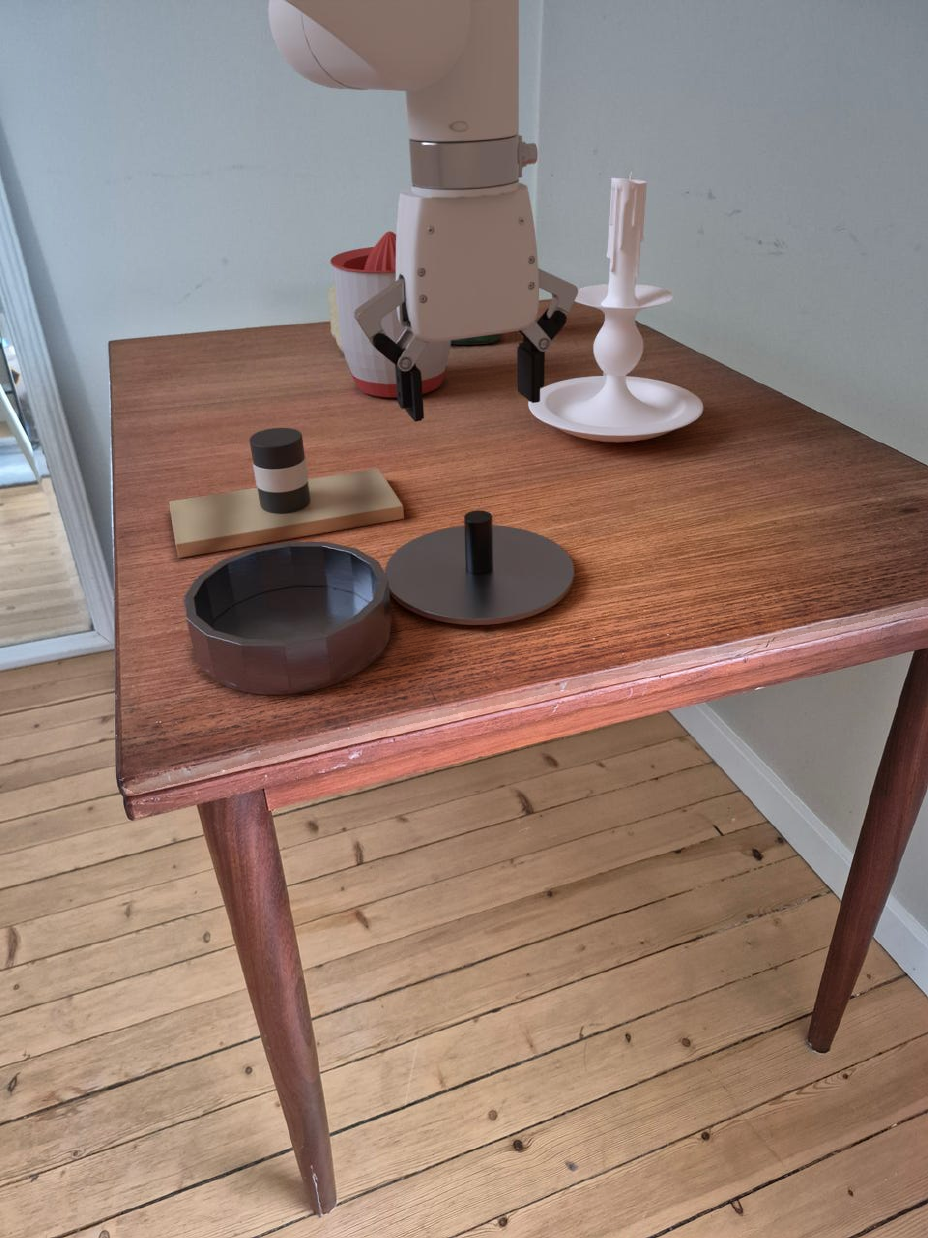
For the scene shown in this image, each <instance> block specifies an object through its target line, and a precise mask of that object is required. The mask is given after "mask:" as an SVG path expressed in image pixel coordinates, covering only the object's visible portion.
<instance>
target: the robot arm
mask: <svg viewBox="0 0 928 1238" xmlns="http://www.w3.org/2000/svg"><path fill="white" fill-rule="evenodd" d="M268 23H269V29H270V33H271V35H272V39H273V41H274V43H275V46H276V48H277V50H278V52H279V54H280V55H281V57H282V58H283V59H284V60H285V62H286V63H287V64H288V65H289V66H290V67H291V68H292V69H293V71H295V72H296V73H297V74H299V75H300V76H301V77H303V78H304V79H306V80H308V81H310V82H311V83H314V84H316V85H319V86H322V87H326V88H330V89H335V90H336V89H337V90H353V91H355V90H356V91H368V90H375V91H376V90H378V91H395V92H396V91H398V92H405V103H406V104H405V105H406V116H407V119H406V120H407V132H408V133H407V134H408V152H409V153H408V154H409V168H410V169H409V171H410V182H411V185H410V186H411V188H410V189H409V188H408V189H404V190H401V191H400V192H399V198H398V205H397V216H396V233H395V234H396V281H395V282H394V283H392V284H391V285H390V286H388V287H387V288H385V289H384V290H382V291H381V292H380V293H378V294H377V295H375V296H374V297H373V298H371V299H370V300H368V301H367V302H365V303H364V304H363V305H361V306H360V307H358V308H357V309H356V310H355V312H354V316H355V319H356V320H357V322H358V323H359V325H360V327H361V328H362V330H363V331H364V333H365V334H366V336H367V337H368V339H369V340H370V343H371V344H372V345H373V346H374V347H375V348H376V349H377V350H378V351H379V352H380V353H381V354H383V355H384V356H385V357H386V358H387V359H389V360H390V361H391V362H392V363H394V364H395V372H396V385H397V397H396V398H397V402H398V406H399V408H400V409H402V410H404V411H405V412H406V414H408V416H409V417H410V418H411V419H412V420H413V422H415V423H416V422H422V420H424V419H425V410H424V409H425V408H424V394H423V393H422V377H421V371H420V370H419V369H418V368H417V367H416V361H417V360H418V358H419V357H420V355H421V354H422V352H423V351H424V349H425V348H426V346H427V345H428V343H429V342H439V341H448V340H456V339H464V338H471V337H479V336H486V335H493V334H500V333H501V334H507V333H512V332H517V333H518V334H519V335H520V336H521V338H522V342H519V343H518V346H517V348H516V356H517V357H516V358H517V361H516V363H517V365H516V366H517V367H516V369H517V370H516V371H517V372H516V373H517V374H516V375H517V377H516V381H517V385H516V386H517V389H516V390H517V392H518V393H519V394H520V395H521V396H522V397H524V398H525V399H526V400H528V402H529V401H530V402H532V403H537V402H540V389H541V388H543V387H545V371H546V370H545V369H546V368H545V367H546V366H545V365H546V364H545V363H546V362H545V361H546V352H547V351H549V350H550V348H552V347H551V346H552V342H553V340H554V338H556V336H557V335H558V333H559V332H560V331H561V330H562V329H563V328H564V326H565V325H566V324H567V320H568V319H567V316H568V315H569V313H570V311H571V309H572V308H573V306H574V304H575V302H576V301H575V299H576V297H577V294H578V289H579V288H578V286H576V285H574V284H572V283H571V282H568V281H566V280H565V279H562V278H561V277H559V276H556V275H554V274H552V273H549V272H548V271H545V270H543V269H541V268H540V267H539V258H538V247H537V246H538V245H537V237H536V229H535V222H534V221H535V220H534V215H533V214H534V213H533V208H532V204H531V198H530V193H529V189H528V186H527V185H526V184H524V183H522V182H520V178H522V177H523V168H526V167H527V165H535V164H536V163H537V162H538V156H539V155H538V147H537V144H536V143H535V142H531V143H526V141H523V136H522V135H520V0H269V1H268ZM540 289H542V290H543V291H545V292H548V293H549V294H551V296H552V297H551V301H550V303H549V304H550V305H549V307H548V308H547V309H546V310H545V311H544V312H543V314H541V316H540V317H539V318H538V315H539V307H540ZM395 308H397V314H398V319H399V322H400V323H401V324H402V325H403V326H404V329H403V330H402V332H401V333H400V335H399V336H398V338H397V339H396V341H395V342H394V341H393V340H392V339H390V338H389V337H388V336H387V335H386V334H385V332H384V330H383V328H382V327H381V324H380V322H381V319H382V318H383V317H384V316H385V315H387V314H388V313H390V312H391V311H392V310H394V309H395ZM537 319H538V320H537Z"/></svg>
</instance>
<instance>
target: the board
mask: <svg viewBox="0 0 928 1238" xmlns="http://www.w3.org/2000/svg"><path fill="white" fill-rule="evenodd" d="M308 484H309V492H310V503H309V505H308V506H306V507H305V508H303V509H301V510H299V511H295V512H291V513H283V514H277V513H270V512H267V511H265V510H263V509H262V508H261V506H260V500H259V494H258V488H257V487H251V488H245V489H238V490H233V491H228V492H220V493H219V492H218V493H213V494H208V495H201V496H194V497H189V498H182V499H177V500H175V499H174V500H169V503H168V504H169V511H170V516H171V524H172V530H173V537H174V543H175V548H176V553H177V557H178V559H181V558H187V557H192V556H199V555H205V554H210V553H215V552H221V551H227V550H234V549H239V548H244V547H245V548H246V547H250V546H256V545H261V544H267V543H273V542H278V541H284V540H290V539H295V538H301V537H309V536H314V535H319V534H325V533H330V532H335V531H342V530H347V529H354V528H358V527H365V526H369V525H376V524H381V523H389V522H394V521H399V520H404V519H405V512H404V505H403V503H402V501H401V500H400V498H399V497H398V496H397V494H396V493H395V491H394V489H393V488H392V486H391V485H390V483H389V482H388V480H387V479H386V477H385V475H384V474H383V472H381V470H380V468H378V467H377V468H371V469H365V470H359V471H351V472H345V473H339V474H332V475H327V476H326V475H325V476H320V477H314V478H308Z"/></svg>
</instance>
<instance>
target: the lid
mask: <svg viewBox="0 0 928 1238" xmlns="http://www.w3.org/2000/svg"><path fill="white" fill-rule="evenodd" d="M384 573H385V574H386V576H387V578H388V583H389V594H390V596H391V597H392V598H393V599H394V600H395V601H396V602H397V603H398V604H399V605H401V606H402V607H403V608H405V609H407V610H408V611H410V612H412V613H414V614H416V615H419V616H421V617H423V618H427V619H430V620H434V621H437V622H442V623H447V624H455V625H464V626H465V625H467V626H487V625H489V626H490V625H499V624H505V623H512V622H516V621H520V620H524V619H527V618H530V617H533V616H536V615H538V614H540V613H543V612H545V611H547V610H548V609H551V608H552V607H554V606H556V605H557V604H558V603H559V602H560V601H562V600H563V599H564V598H565V597H566V596H567V594H569V591H570V590H571V588H572V586H573V584H574V580H575V566H574V562H573V560H572V558H571V556H570V555H569V553H568V552H567V551H566V550H565V549H564V548H563V547H562V546H561V545H560V544H558V543H557V542H555V541H554V540H552V539H550V538H548V537H546V536H544V535H541V534H539V533H536V532H534V531H530V530H527V529H523V528H519V527H514V526H507V525H495V524H493V515H492V513H490V512H489V511H487V510H478V509H477V510H471V511H468V512H466V513H465V514H464V516H463V525H459V526H452V527H446V528H442V529H438V530H434V531H431V532H428V533H425V534H423V535H420V536H418V537H415V538H414V539H411V540H409V541H408V542H406V543H405V544H403V545H402V546H401V547H399V548H398V549H397V550H396V551H395V552H394V553H393V554H392V555H391V556H390V557H389V559H388V561H387V562H386V565H385V570H384Z"/></svg>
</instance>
